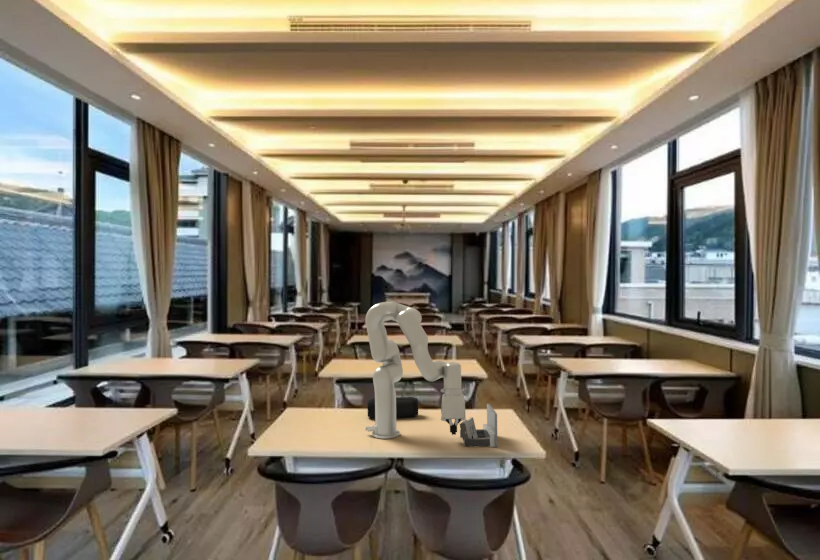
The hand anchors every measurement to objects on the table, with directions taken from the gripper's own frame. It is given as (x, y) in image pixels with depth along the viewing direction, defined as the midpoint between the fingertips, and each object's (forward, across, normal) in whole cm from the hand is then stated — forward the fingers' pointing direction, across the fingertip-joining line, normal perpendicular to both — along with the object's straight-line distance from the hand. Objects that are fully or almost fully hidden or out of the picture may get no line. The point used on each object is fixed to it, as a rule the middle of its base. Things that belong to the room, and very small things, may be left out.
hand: (453, 433), depth 244 cm
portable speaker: (+4, -26, +45) cm, 52 cm away
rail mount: (+4, +10, 0) cm, 10 cm away
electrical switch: (+4, +7, +2) cm, 8 cm away
